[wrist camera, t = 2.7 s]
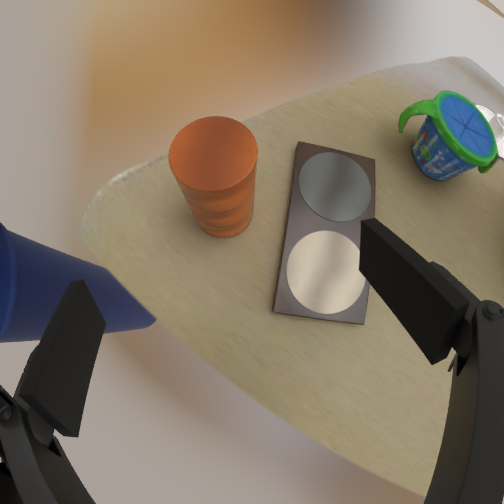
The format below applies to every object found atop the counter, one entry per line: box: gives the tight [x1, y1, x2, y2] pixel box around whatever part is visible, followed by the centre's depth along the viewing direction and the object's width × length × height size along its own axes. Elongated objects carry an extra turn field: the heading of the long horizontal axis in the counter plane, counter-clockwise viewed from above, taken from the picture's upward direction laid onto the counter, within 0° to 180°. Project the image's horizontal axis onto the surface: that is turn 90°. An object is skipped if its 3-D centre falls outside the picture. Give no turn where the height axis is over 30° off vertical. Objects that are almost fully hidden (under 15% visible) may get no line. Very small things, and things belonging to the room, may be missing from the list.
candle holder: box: [475, 105, 504, 158], centre depth 35 cm, size 12×12×4 cm
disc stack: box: [169, 116, 258, 238], centre depth 26 cm, size 6×6×13 cm
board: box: [272, 141, 375, 325], centre depth 31 cm, size 10×20×1 cm, turn 170°
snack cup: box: [398, 91, 499, 181], centre depth 30 cm, size 16×10×10 cm
